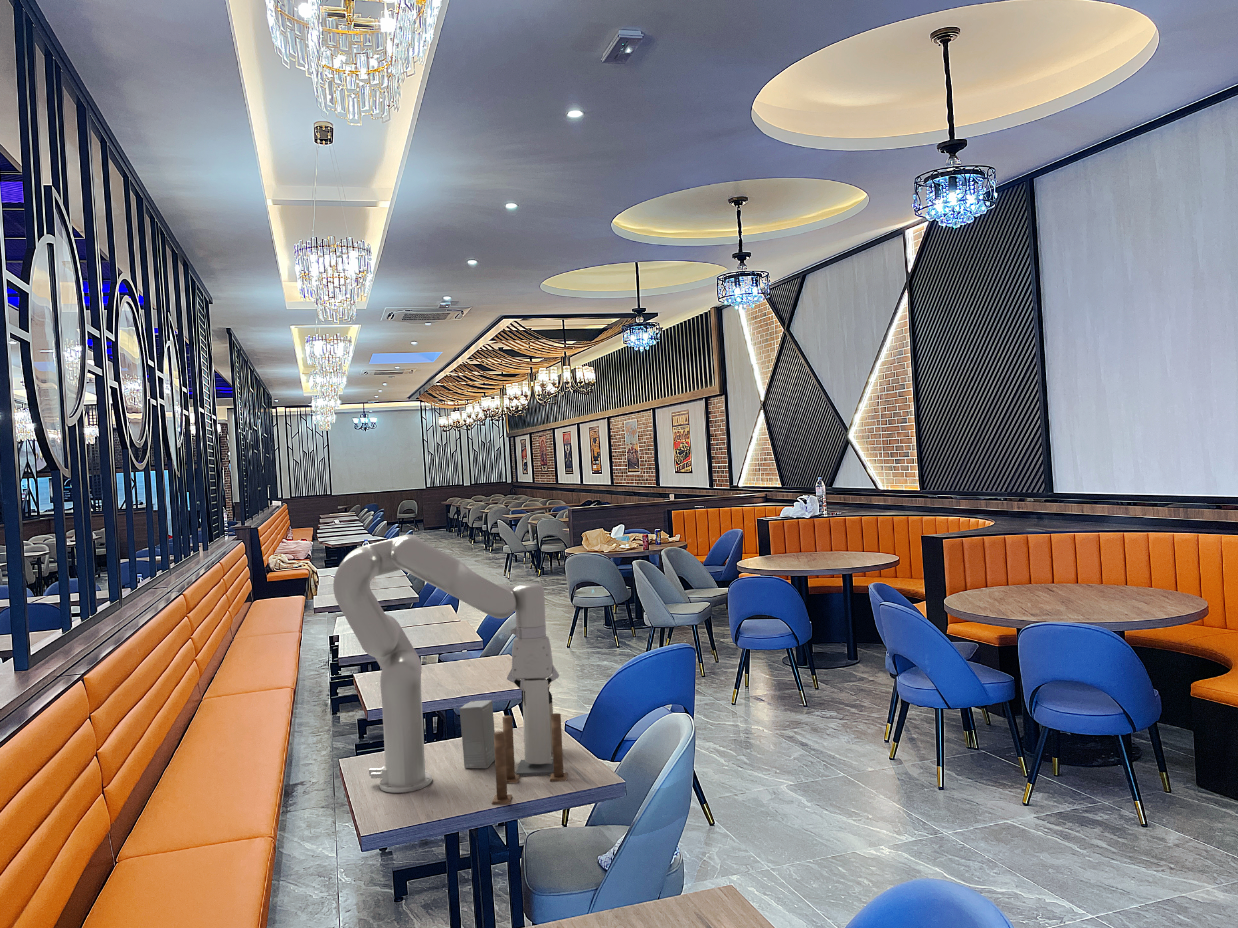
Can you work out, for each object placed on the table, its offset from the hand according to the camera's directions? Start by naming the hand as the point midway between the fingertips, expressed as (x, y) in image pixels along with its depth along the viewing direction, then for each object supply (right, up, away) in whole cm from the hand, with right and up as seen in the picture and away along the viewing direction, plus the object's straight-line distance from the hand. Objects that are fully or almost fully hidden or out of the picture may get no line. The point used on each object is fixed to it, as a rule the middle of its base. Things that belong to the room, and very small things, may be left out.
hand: (534, 703), depth 218 cm
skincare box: (-15, -18, +6) cm, 24 cm away
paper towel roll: (+1, -15, 0) cm, 15 cm away
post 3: (+7, -16, -8) cm, 19 cm away
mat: (+1, -17, 0) cm, 17 cm away
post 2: (-5, -17, -8) cm, 19 cm away
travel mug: (0, -17, +14) cm, 22 cm away
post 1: (-5, -17, -21) cm, 27 cm away
